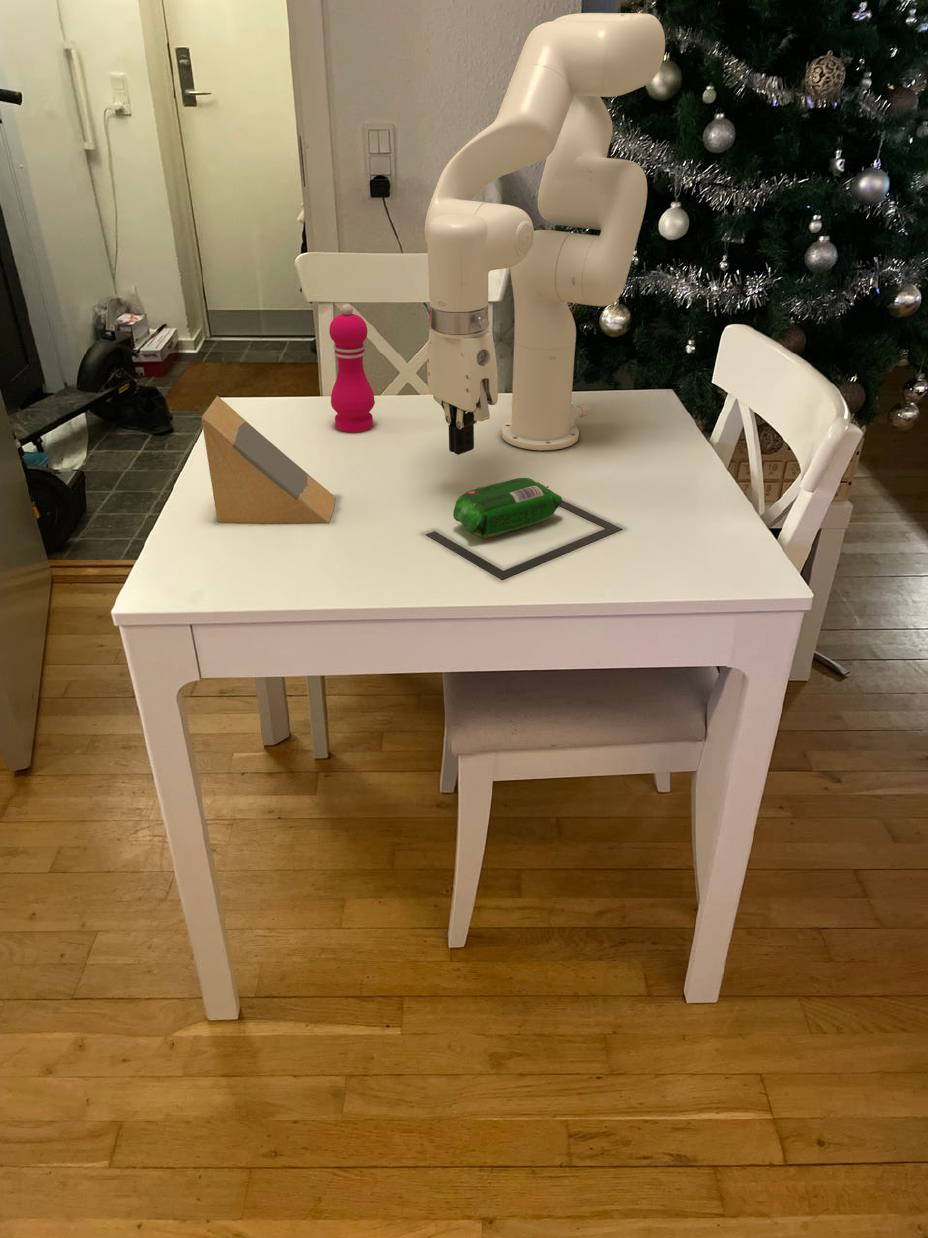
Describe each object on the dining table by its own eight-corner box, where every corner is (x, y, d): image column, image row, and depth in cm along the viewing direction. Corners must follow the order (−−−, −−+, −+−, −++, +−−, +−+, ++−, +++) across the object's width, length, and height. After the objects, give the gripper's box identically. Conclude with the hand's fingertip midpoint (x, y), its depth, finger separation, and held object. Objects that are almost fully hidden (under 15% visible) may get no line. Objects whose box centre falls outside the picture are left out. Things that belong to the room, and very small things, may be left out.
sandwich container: (330, 523, 127) (321, 417, 119) (216, 523, 127) (200, 416, 119) (337, 496, 135) (329, 394, 127) (230, 496, 135) (215, 393, 127)
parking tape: (543, 491, 136) (543, 491, 136) (622, 529, 126) (622, 528, 126) (425, 534, 125) (425, 534, 125) (502, 579, 115) (502, 579, 115)
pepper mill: (338, 417, 161) (330, 297, 151) (380, 419, 161) (374, 299, 150) (327, 432, 155) (318, 308, 145) (370, 435, 155) (364, 310, 144)
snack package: (570, 521, 128) (572, 485, 126) (472, 548, 122) (473, 511, 119) (540, 502, 134) (542, 467, 131) (444, 526, 127) (444, 491, 124)
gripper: (519, 325, 119) (517, 460, 129) (445, 300, 128) (449, 427, 139) (474, 338, 115) (475, 476, 125) (401, 311, 124) (408, 441, 135)
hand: (461, 450), depth 132 cm, fingers closed
